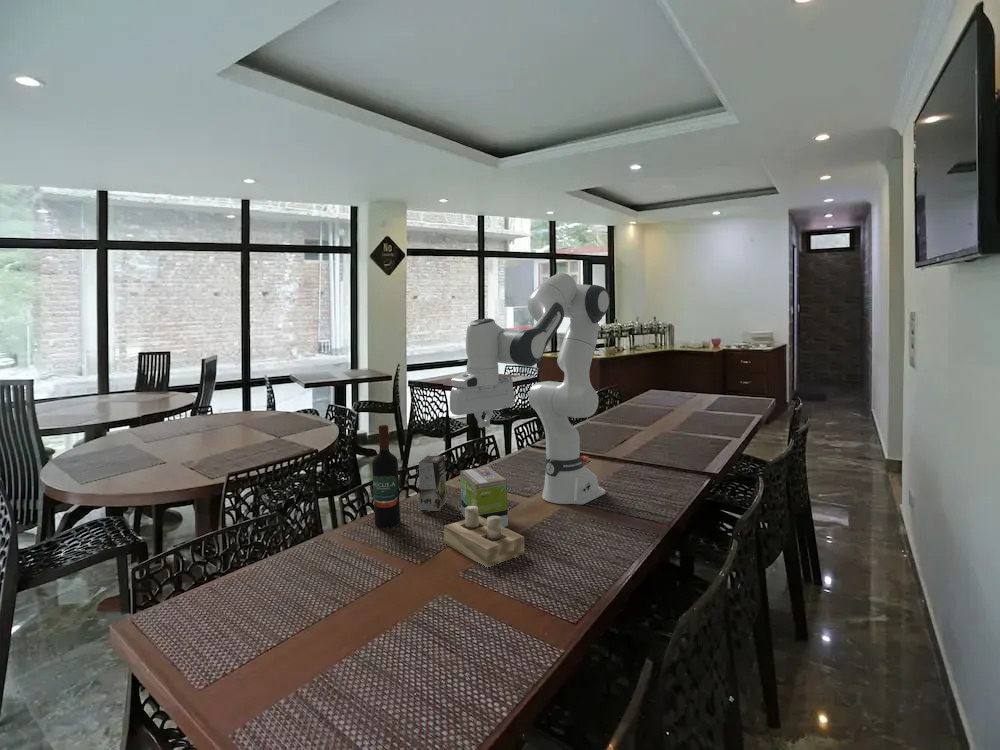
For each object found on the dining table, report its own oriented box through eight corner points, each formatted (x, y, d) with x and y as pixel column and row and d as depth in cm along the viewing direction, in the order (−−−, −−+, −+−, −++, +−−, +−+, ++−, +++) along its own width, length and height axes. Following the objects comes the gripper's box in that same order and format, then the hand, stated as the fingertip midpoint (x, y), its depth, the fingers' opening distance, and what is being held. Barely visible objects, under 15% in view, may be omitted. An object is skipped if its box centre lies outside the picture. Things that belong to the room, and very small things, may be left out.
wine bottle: (404, 519, 179) (400, 423, 175) (392, 529, 172) (388, 429, 168) (383, 517, 181) (378, 422, 178) (370, 526, 174) (365, 427, 171)
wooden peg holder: (479, 532, 168) (478, 498, 167) (524, 554, 152) (523, 518, 151) (444, 543, 161) (443, 508, 160) (487, 568, 145) (486, 529, 144)
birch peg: (496, 550, 155) (495, 514, 154) (504, 555, 152) (503, 518, 151) (485, 554, 153) (484, 518, 152) (493, 559, 150) (492, 521, 149)
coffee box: (438, 512, 185) (437, 462, 183) (419, 511, 186) (417, 462, 184) (447, 502, 194) (445, 455, 192) (428, 501, 195) (426, 454, 193)
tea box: (460, 515, 182) (459, 469, 180) (490, 510, 185) (489, 465, 184) (477, 532, 168) (475, 482, 166) (509, 527, 172) (508, 478, 170)
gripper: (505, 373, 170) (506, 420, 172) (445, 380, 158) (447, 430, 160) (519, 375, 165) (519, 423, 167) (458, 382, 153) (460, 434, 155)
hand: (483, 426), depth 163 cm, fingers closed
